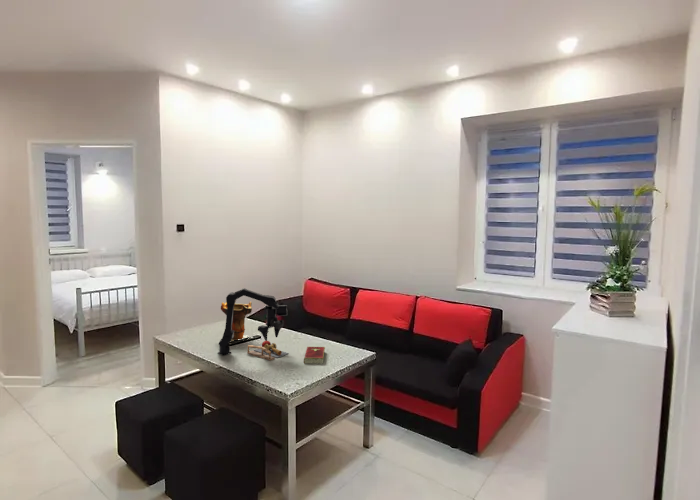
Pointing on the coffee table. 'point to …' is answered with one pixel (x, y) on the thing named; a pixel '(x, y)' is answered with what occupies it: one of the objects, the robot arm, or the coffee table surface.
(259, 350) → the mat
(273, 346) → the kendama
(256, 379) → the coffee table surface
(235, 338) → the decorative vase
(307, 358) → the hardcover book
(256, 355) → the tan wooden frame
